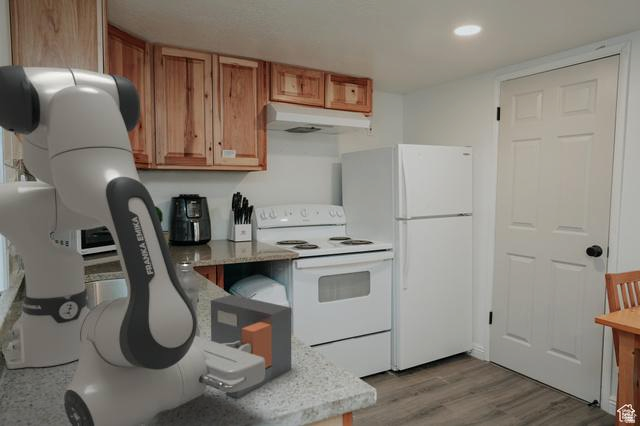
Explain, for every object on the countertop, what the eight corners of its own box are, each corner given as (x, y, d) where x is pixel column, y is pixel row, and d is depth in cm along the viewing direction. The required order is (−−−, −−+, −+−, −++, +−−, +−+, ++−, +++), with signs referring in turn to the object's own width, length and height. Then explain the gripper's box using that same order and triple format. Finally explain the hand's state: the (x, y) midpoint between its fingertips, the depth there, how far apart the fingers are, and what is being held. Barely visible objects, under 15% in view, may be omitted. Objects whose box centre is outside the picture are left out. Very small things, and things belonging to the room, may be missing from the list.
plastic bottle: (189, 339, 103) (188, 260, 102) (205, 346, 98) (204, 263, 97) (165, 347, 98) (164, 263, 97) (181, 354, 93) (180, 266, 92)
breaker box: (176, 372, 84) (175, 309, 83) (231, 349, 96) (231, 294, 95) (237, 398, 73) (236, 326, 73) (291, 369, 85) (291, 307, 85)
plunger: (242, 370, 78) (241, 328, 78) (260, 361, 82) (260, 321, 82) (253, 374, 76) (253, 331, 76) (271, 365, 80) (271, 324, 80)
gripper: (226, 369, 59) (288, 341, 70) (145, 339, 71) (209, 320, 82) (226, 412, 59) (288, 377, 71) (146, 375, 71) (210, 350, 83)
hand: (245, 346), depth 77 cm, fingers closed
